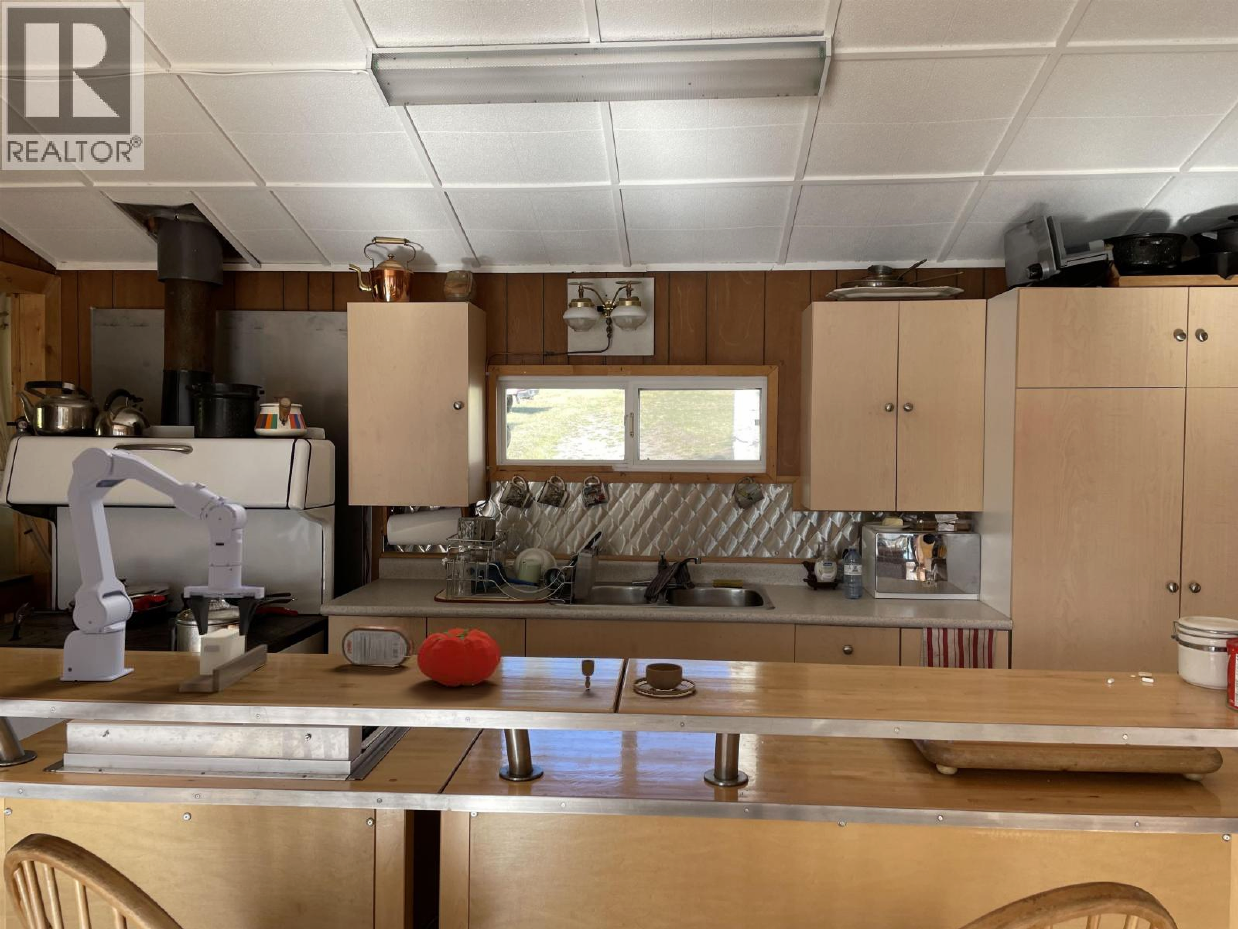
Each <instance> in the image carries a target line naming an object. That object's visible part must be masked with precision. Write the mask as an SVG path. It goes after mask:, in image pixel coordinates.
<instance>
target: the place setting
mask: <svg viewBox="0 0 1238 929" xmlns="http://www.w3.org/2000/svg"><path fill="white" fill-rule="evenodd" d="M594 673H595V660H594V659H583V660H581V674H582V675H583V676H584V677H585V682H584V686H585V688H590V686H591V676H593V675H594ZM642 681H647V683H648V684H647V685H649V686H650V687H651V688H655V689H660V690H670V689H674V688H675V689H676V688H678V687H679V686H681V685H680V684H681V682H682V681H687V682H690V683H691V684H693V685H694V686H693V687H692V688H687V689H682V690H681V689H680V690H675V689H674V691H655V690H654V689H646V688H643V687H640V686H639V687H638V686H636V685H635V684H638V683H639V682H642ZM632 688H633V690H634V689H635V690H637V691H641V692H644V693H648V694H653V695H678V694H682V693H686V692H688V691H692V690H693V689H694V688H695V689H696V683H695V682H694V681H693V680H690V679H688V678H683V667H682V666H681V665H679V664H677V663H669V662H656V663H655V662H654V663H650V664H647V665H646V666H645V676H643V677H639V678H636V679H634V680H633V681H632ZM635 690H634V691H635Z"/></svg>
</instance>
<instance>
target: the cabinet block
mask: <svg viewBox="0 0 1238 929" xmlns="http://www.w3.org/2000/svg"><path fill="white" fill-rule="evenodd" d="M245 638H246V635H244V636H239V628H220V629H218V630H216V631H213V632H210V633H207V634H205V635H202V636H201V637H200V649H199V651H200V653H199V654H200V657H199V662H200V663H199V673H200V675H213V669H215V668H217V667H219V666H221V665H223V664H225V663H227V662H229V661H231V660H233V659H235V658H237V657H238V656H240V655H242V654H244V653H245V644H246V643H245V642H246V640H245Z"/></svg>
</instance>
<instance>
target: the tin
mask: <svg viewBox="0 0 1238 929" xmlns="http://www.w3.org/2000/svg"><path fill="white" fill-rule="evenodd" d="M341 650H342V654H343V656H344V658H345V659H346V660H347V661H348V662H349V663H350V664H352V665H355V666H357V665H400V666H403V664H405V663H407V662H408V661H409V660H410V659H411V658H412V656H413V654H414V652H415V641H414V637H413V636H412V634H411V633H410V632H409V630H407V629H406V628H404V627H401V626H398V625H386V624H385V625H382V624H367V623H365V624H364V623H362V624H358V625H355V626H354V627H352V628H351V629H349V630H348V631H347V632H346V633H345V634H344V636H343V638H342V641H341ZM404 656H411V657H404Z"/></svg>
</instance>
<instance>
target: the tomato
mask: <svg viewBox="0 0 1238 929" xmlns="http://www.w3.org/2000/svg"><path fill="white" fill-rule="evenodd" d="M469 630H470V631H469ZM417 652H418V653H417V657H416V661H417V666H418V668H419V670H420V672H421V673H422V674H423V675H424V676H425V677H428V678H429V679H431V680H433V681H435V682H438V683H439V684H442V685H443V686H445V685H446V686H445V687H448V686H451V687H458V686H461V684H462V686H464V685H472V684H475V685H477V684H479V683H481V682H483V681H485V680H487V679H488V678H490V677H491V676H492V675H493V674H494V672H495V670H496V669H497V668H498V666H499V664H500V663H501V659H502V652H501V648H500V646H499V645H498V642H497V641H495V640H494V639H493V638H491V637H490V636H489V635H488V633H486V632H484V631H480V630H478V629H476V628H475V629H472V628H466V629H465V628H457V627H455V628H452V629H449V630H447V631H444V632H442V633H441V632H436V633H433V634H430V635H429V636H427V638H425V639H424V641H423V642H422V643H421V645H420V647H419V648H418V651H417Z"/></svg>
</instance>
